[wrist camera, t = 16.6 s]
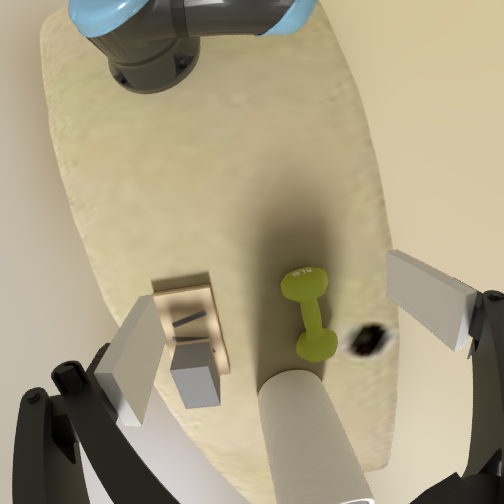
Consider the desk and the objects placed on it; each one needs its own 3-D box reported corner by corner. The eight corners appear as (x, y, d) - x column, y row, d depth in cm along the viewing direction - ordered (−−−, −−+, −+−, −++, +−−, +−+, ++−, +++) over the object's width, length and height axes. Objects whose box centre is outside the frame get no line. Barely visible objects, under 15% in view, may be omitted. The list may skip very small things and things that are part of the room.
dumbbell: (274, 271, 47) (283, 287, 40) (319, 258, 47) (334, 272, 40) (292, 348, 52) (301, 371, 45) (331, 336, 52) (344, 356, 45)
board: (153, 292, 46) (150, 296, 44) (210, 283, 46) (209, 287, 44) (180, 373, 51) (179, 379, 49) (230, 367, 51) (230, 373, 49)
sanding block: (176, 342, 47) (170, 370, 39) (209, 338, 47) (208, 366, 39) (189, 380, 49) (186, 408, 41) (220, 376, 49) (220, 405, 42)
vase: (248, 378, 52) (271, 520, 22) (317, 358, 53) (380, 486, 22) (265, 419, 56) (290, 538, 26) (325, 401, 57) (373, 512, 26)
